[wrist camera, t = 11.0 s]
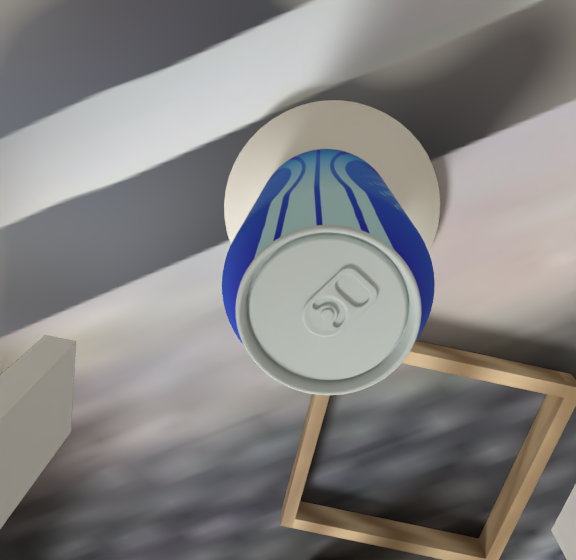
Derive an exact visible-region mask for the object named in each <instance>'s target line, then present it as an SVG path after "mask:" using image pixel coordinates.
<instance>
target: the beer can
mask: <svg viewBox="0 0 576 560" xmlns="http://www.w3.org/2000/svg"><path fill="white" fill-rule="evenodd" d="M222 294H223V301H224V306H225V310H226V313H227V316H228V319H229V321H230V324H231V326H232V328H233V330H234V332H235V333H236V335H237V337H238V338H239V340H240V341H241V342H242V344H243V345H244V347H245V349H246V350H247V352H248V354H249V355H250V357H251V358H252V359H253V361H254V362H255V363H256V364H257V365H258V366H259V367H260V368H261V369H262V370H263V371H264V372H265V373H266V374H268V375H269V376H270V377H272V378H273V379H275V380H276V381H278V382H279V383H281V384H283V385H285V386H287V387H290V388H292V389H295V390H298V391H301V392H305V393H310V394H316V395H341V394H347V393H352V392H356V391H359V390H362V389H365V388H367V387H370V386H372V385H374V384H376V383H378V382H379V381H381V380H383V379H384V378H386V377H387V376H388V375H390V374H391V373H392V372H393V371H394V370H395V369H396V368H397V367H398V366H399V365H400V364H401V363H402V362H403V361H404V359H405V358H406V357H407V355H408V354H409V352H410V350H411V349H412V347H413V345H414V343H415V341H416V340H417V339H418V337H419V335H420V334H421V332H422V330H423V328H424V326H425V324H426V322H427V320H428V317H429V314H430V311H431V307H432V303H433V297H434V272H433V267H432V262H431V258H430V255H429V252H428V249H427V247H426V245H425V242H424V240H423V239H422V237H421V235H420V234H419V232H418V230H417V229H416V227H415V226H414V225H413V223H412V222H411V220H410V219H409V217H408V216H407V214H406V213H405V211H404V210H403V208H402V207H401V205H400V204H399V203H398V201H397V200H396V198H395V197H394V195H393V194H392V192H391V191H390V189H389V188H388V186H387V185H386V184H385V182H384V181H383V179H382V178H381V176H380V175H379V174H378V172H377V171H376V170H375V169H374V168H373V167H372V166H371V165H369V164H368V163H367V162H366V161H364V160H363V159H361V158H359V157H358V156H355V155H353V154H351V153H348V152H345V151H341V150H335V149H317V150H311V151H308V152H304V153H301V154H299V155H297V156H295V157H293V158H291V159H289V160H288V161H286V162H285V163H284V164H282V165H281V166H280V167H279V168H278V169H277V170H276V171H275V172H274V173H273V175H272V176H271V177H270V179H269V180H268V182H267V183H266V185H265V187H264V188H263V190H262V192H261V194H260V195H259V197H258V199H257V200H256V202H255V204H254V205H253V207H252V209H251V211H250V212H249V214H248V216H247V217H246V219H245V221H244V223H243V224H242V226H241V228H240V229H239V231H238V233H237V234H236V236H235V238H234V240H233V242H232V244H231V246H230V248H229V251H228V253H227V257H226V260H225V264H224V270H223V277H222Z"/></svg>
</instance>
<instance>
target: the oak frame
mask: <svg viewBox="0 0 576 560" xmlns="http://www.w3.org/2000/svg"><path fill="white" fill-rule="evenodd" d="M402 363H404V364H409V365H414V366H418V367H423V368H428V369H432V370H437V371H442V372H446V373H451V374H456V375H460V376H465V377H470V378H474V379H479V380H483V381H488V382H493V383H497V384H502V385H507V386H511V387H516V388H521V389H525V390H530V391H535V392H539V393H544V394H546V396H545V399H544V401H543V403H542V405H541V407H540V409H539V411H538V413H537V416H536V418H535V420H534V422H533V424H532V426H531V428H530V430H529V433H528V435H527V437H526V439H525V441H524V443H523V445H522V447H521V450H520V452H519V454H518V456H517V458H516V460H515V462H514V464H513V467H512V469H511V471H510V473H509V475H508V477H507V479H506V481H505V484H504V486H503V488H502V490H501V492H500V494H499V496H498V498H497V500H496V503H495V505H494V507H493V509H492V511H491V513H490V515H489V517H488V520H487V522H486V524H485V526H484V528H483V530H482V532H481V534H480V537H479V538H474V537H469V536H464V535H460V534H455V533H450V532H445V531H441V530H436V529H431V528H426V527H421V526H417V525H412V524H407V523H402V522H398V521H393V520H388V519H383V518H379V517H374V516H369V515H364V514H360V513H355V512H350V511H345V510H341V509H336V508H331V507H326V506H322V505H317V504H312V503H307V502H302V501H300V500H301V496H302V493H303V489H304V486H305V482H306V478H307V475H308V471H309V468H310V464H311V461H312V457H313V454H314V450H315V447H316V443H317V439H318V436H319V432H320V429H321V425H322V422H323V418H324V415H325V411H326V408H327V404H328V400H329V397H330V395H316V394H312V397H311V401H310V405H309V409H308V412H307V416H306V420H305V424H304V427H303V431H302V435H301V439H300V442H299V446H298V450H297V454H296V457H295V461H294V465H293V469H292V472H291V476H290V480H289V484H288V487H287V491H286V495H285V499H284V502H283V506H282V516H281V526H285V527H290V528H295V529H300V530H305V531H309V532H314V533H319V534H324V535H329V536H333V537H338V538H343V539H348V540H352V541H357V542H362V543H367V544H372V545H376V546H381V547H386V548H391V549H395V550H400V551H405V552H410V553H415V554H419V555H424V556H429V557H434V558H438V559H443V560H499V558H500V556H501V554H502V552H503V550H504V548H505V546H506V544H507V542H508V540H509V538H510V536H511V534H512V532H513V530H514V528H515V526H516V524H517V522H518V520H519V518H520V516H521V514H522V512H523V510H524V508H525V506H526V504H527V502H528V500H529V498H530V496H531V494H532V492H533V490H534V488H535V486H536V484H537V482H538V480H539V478H540V476H541V474H542V472H543V470H544V468H545V466H546V464H547V462H548V460H549V458H550V456H551V454H552V452H553V450H554V448H555V446H556V444H557V442H558V440H559V438H560V436H561V434H562V432H563V430H564V428H565V426H566V424H567V422H568V420H569V418H570V416H571V414H572V412H573V410H574V408H575V406H576V379H575V378H574V377H573V376H572V375H571V374H569V373H565V372H560V371H555V370H551V369H546V368H541V367H537V366H532V365H527V364H523V363H518V362H514V361H509V360H504V359H500V358H495V357H490V356H486V355H481V354H477V353H472V352H467V351H463V350H458V349H453V348H449V347H444V346H439V345H435V344H430V343H426V342H421V341H415V343H414V345H413V347H412V349H411V350H410V352H409V354H408V355H407V357H406V358H405V359H404V361H403V362H402Z"/></svg>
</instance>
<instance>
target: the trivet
mask: <svg viewBox="0 0 576 560" xmlns="http://www.w3.org/2000/svg"><path fill="white" fill-rule="evenodd" d="M317 149H335V150H341V151H345V152H348V153H351V154H353V155H355V156H358V157H359V158H361V159H363V160H364V161H366V162H367V163H368V164H369V165H371V166H372V167H373V168H374V169H375V170H376V171H377V172H378V174H379V175H380V176H381V178H382V179H383V181H384V182H385V184H386V185H387V186H388V188H389V189H390V191H391V192H392V194H393V195H394V197H395V198H396V200H397V201H398V203H399V204H400V205H401V207H402V208H403V210H404V211H405V213H406V214H407V216H408V217H409V219H410V220H411V222H412V223H413V225H414V226H415V227H416V229H417V230H418V232H419V234H420V235H421V237H422V239H423V240H424V242H425V245H426V247H427V249H428V252H429V251H430V249H431V246H432V244H433V241H434V239H435V236H436V232H437V228H438V224H439V216H440V193H439V186H438V181H437V177H436V174H435V171H434V168H433V165H432V163H431V161H430V159H429V157H428V155H427V153H426V152H425V150H424V149H423V147H422V145H421V144H420V142H419V141H418V140H417V139H416V138H415V137H414V136H413V134H412V133H411V132H410V131H409V130H408V129H406V128H405V127H404V126H403V125H402V124H401V123H399V122H398V121H397V120H395V119H393V118H392V117H391V116H389V115H388V114H386V113H384V112H382V111H379V110H377V109H375V108H373V107H370V106H367V105H363V104H360V103H356V102H350V101H343V100H325V101H318V102H312V103H308V104H304V105H301V106H297V107H295V108H293V109H290V110H288V111H286V112H284V113H282V114H280V115H279V116H277V117H276V118H274V119H272V120H271V121H269V122H268V123H267V124H265V125H264V126H263V127H262V128H261V129H259V130H258V131H257V132H256V133H255V134H254V135H253V137H252V138H251V139H250V140H249V141H248V142H247V144H246V145H245V146H244V148H243V149H242V151H241V152H240V154H239V156H238V157H237V159H236V161H235V163H234V165H233V168H232V170H231V173H230V176H229V179H228V183H227V187H226V192H225V203H224V210H225V223H226V229H227V234H228V237H229V240H230V243H231V244H232V242H233V240H234V238H235V236H236V234H237V233H238V231H239V229H240V228H241V226H242V224H243V223H244V221H245V219H246V217H247V216H248V214H249V212H250V211H251V209H252V207H253V205H254V204H255V202H256V200H257V199H258V197H259V195H260V194H261V192H262V190H263V188H264V187H265V185H266V183H267V182H268V180H269V179H270V177H271V176H272V175H273V173H274V172H275V171H276V170H277V169H278V168H279V167H280V166H281V165H282V164H284V163H285V162H286V161H288V160H289V159H291V158H293V157H295V156H297V155H299V154H301V153H304V152H308V151H311V150H317Z"/></svg>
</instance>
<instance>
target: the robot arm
mask: <svg viewBox="0 0 576 560" xmlns="http://www.w3.org/2000/svg"><path fill="white" fill-rule="evenodd" d="M75 353H76V341H71V340H67V339H62V338H57V337H52V336H47V335H45V336H44V337H43V338H41V339H40V340H39V341H38V342H37V343H36V344H35V345H34V346H32V347H31V348H30V349H29V350H28V351H27V352H26V353H25V354H23V355H22V356H21V357H20V358H19V359H18V360H17V361H16V362H15V363H13V364H12V365H11V366H10V367H9V368H8V369H7V370H6V371H4V372H3V373H2V374H1V375H0V529H1V528H2V526H3V525H4V523H5V522H6V521H7V519H8V518H9V517H10V515H11V514H12V512H13V511H14V510H15V508H16V507H17V506H18V504H19V503H20V501H21V500H22V499H23V497H24V496H25V495H26V493H27V492H28V490H29V489H30V488H31V486H32V485H33V484H34V482H35V481H36V479H37V478H38V477H39V475H40V474H41V473H42V471H43V470H44V468H45V467H46V466H47V464H48V463H49V462H50V460H51V459H52V457H53V456H54V455H55V453H56V452H57V451H58V449H59V448H60V446H61V445H62V444H63V442H64V441H65V440H66V438H67V437H68V435H69V434H70V433H71V424H72V406H73V388H74V371H75ZM551 531H552V533H553V534H554V536H555V538H556V540H557V542H558V544H559V546H560V548H561V550H562V551H563V553H564V555H565V557H566V559H567V560H576V484H575V486H574V488H573V490H572V492H571V494H570V496H569V498H568V500H567V501H566V503H565V505H564V507H563V509H562V511H561V513H560V515H559V517H558V518H557V520H556V522H555V524H554V526H553V528H552V530H551Z"/></svg>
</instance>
